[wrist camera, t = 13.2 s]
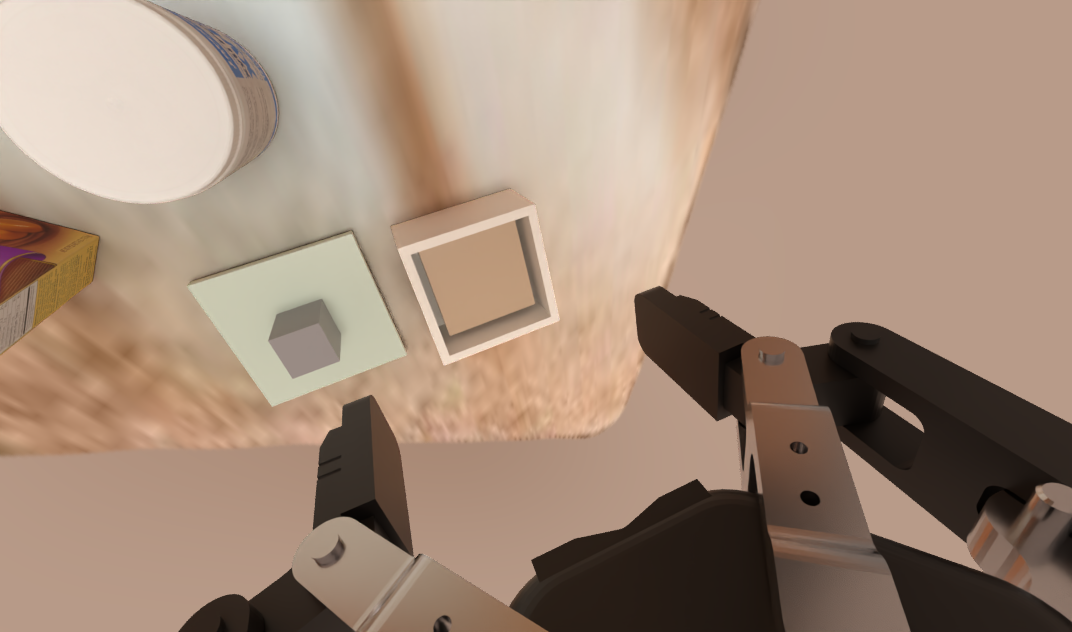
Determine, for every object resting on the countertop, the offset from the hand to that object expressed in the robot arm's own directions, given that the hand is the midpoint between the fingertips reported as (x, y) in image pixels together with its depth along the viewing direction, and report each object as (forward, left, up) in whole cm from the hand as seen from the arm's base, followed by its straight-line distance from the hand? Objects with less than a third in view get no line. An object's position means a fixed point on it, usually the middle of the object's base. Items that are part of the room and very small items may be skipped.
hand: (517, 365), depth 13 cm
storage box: (+10, +3, -32) cm, 34 cm away
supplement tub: (-9, -12, -33) cm, 36 cm away
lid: (+10, -13, -32) cm, 36 cm away
